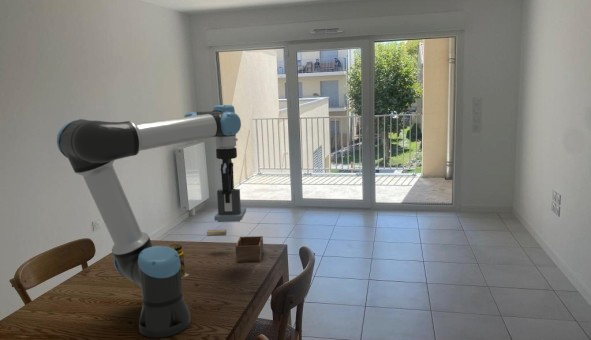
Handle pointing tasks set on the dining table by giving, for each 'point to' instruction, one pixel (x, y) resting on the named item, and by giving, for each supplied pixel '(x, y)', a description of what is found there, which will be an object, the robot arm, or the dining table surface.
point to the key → (216, 233)
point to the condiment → (181, 257)
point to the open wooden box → (249, 249)
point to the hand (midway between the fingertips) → (229, 209)
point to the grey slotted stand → (236, 211)
